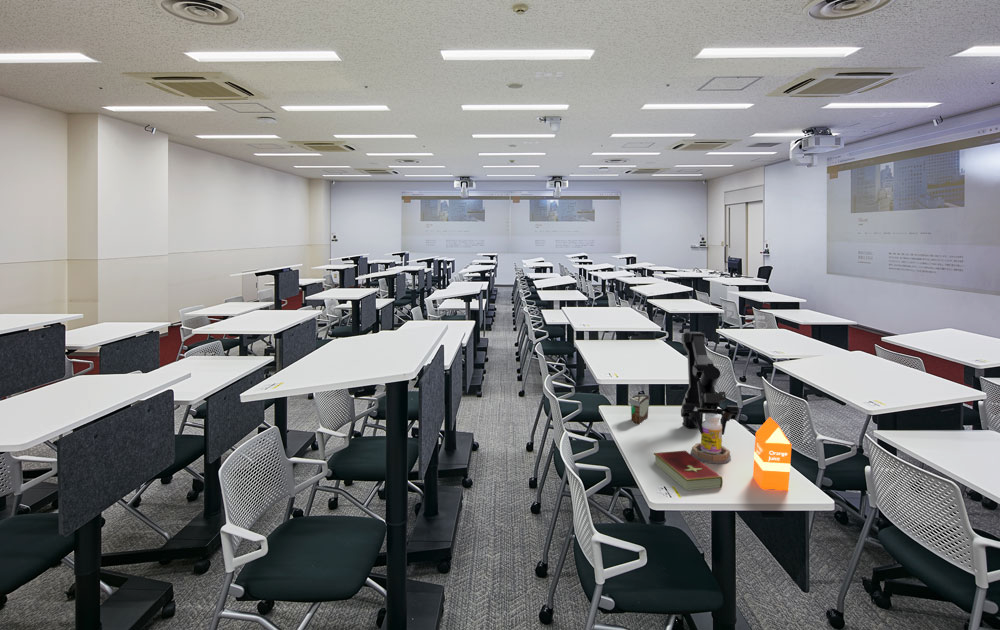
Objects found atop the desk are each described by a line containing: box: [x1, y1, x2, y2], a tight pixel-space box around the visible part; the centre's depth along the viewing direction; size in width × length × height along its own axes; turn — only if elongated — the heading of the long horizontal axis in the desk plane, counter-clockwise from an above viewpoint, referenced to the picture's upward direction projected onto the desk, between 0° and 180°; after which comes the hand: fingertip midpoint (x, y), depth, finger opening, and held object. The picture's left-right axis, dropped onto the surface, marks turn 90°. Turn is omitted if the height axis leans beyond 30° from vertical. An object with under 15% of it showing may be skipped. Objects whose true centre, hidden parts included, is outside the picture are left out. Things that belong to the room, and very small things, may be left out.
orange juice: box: [752, 416, 793, 492], centre depth 163 cm, size 8×9×20 cm
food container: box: [629, 393, 651, 425], centre depth 223 cm, size 12×6×10 cm, turn 145°
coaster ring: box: [690, 442, 732, 465], centre depth 185 cm, size 13×13×3 cm
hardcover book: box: [653, 450, 724, 491], centre depth 170 cm, size 12×21×4 cm, turn 11°
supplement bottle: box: [700, 413, 723, 454], centre depth 184 cm, size 7×7×13 cm
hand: (712, 433), depth 183 cm, fingers closed on supplement bottle, 7 cm apart
